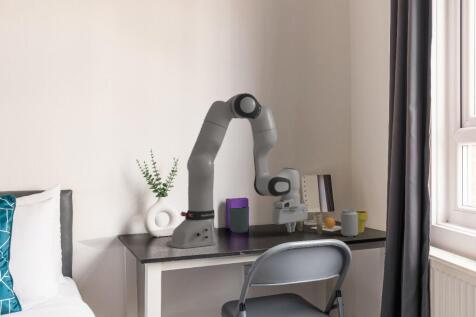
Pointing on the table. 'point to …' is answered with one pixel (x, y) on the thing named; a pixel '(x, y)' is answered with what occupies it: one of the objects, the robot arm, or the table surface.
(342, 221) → the can
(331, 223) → the ball
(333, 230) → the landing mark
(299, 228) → the left post
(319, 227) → the right post
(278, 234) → the table surface
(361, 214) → the plant pot
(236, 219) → the dark grey cylinder
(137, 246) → the table surface
